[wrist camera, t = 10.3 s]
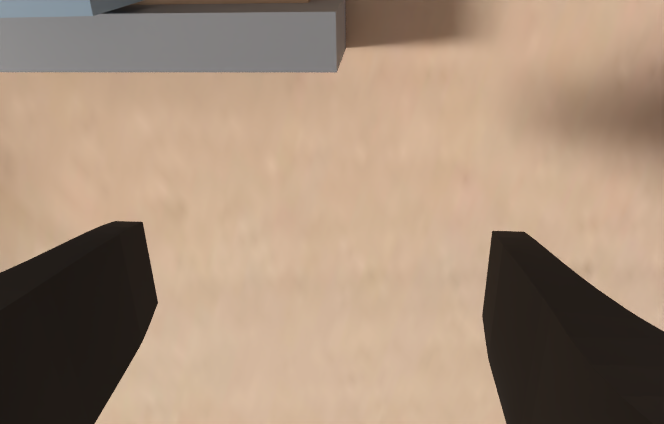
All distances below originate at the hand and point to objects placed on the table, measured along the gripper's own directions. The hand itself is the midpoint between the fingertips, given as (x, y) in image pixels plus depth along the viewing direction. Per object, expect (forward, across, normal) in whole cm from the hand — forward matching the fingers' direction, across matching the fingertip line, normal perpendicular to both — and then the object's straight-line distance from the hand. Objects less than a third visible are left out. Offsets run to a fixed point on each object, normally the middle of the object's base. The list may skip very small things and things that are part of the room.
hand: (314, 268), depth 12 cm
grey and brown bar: (+9, +10, -4) cm, 14 cm away
